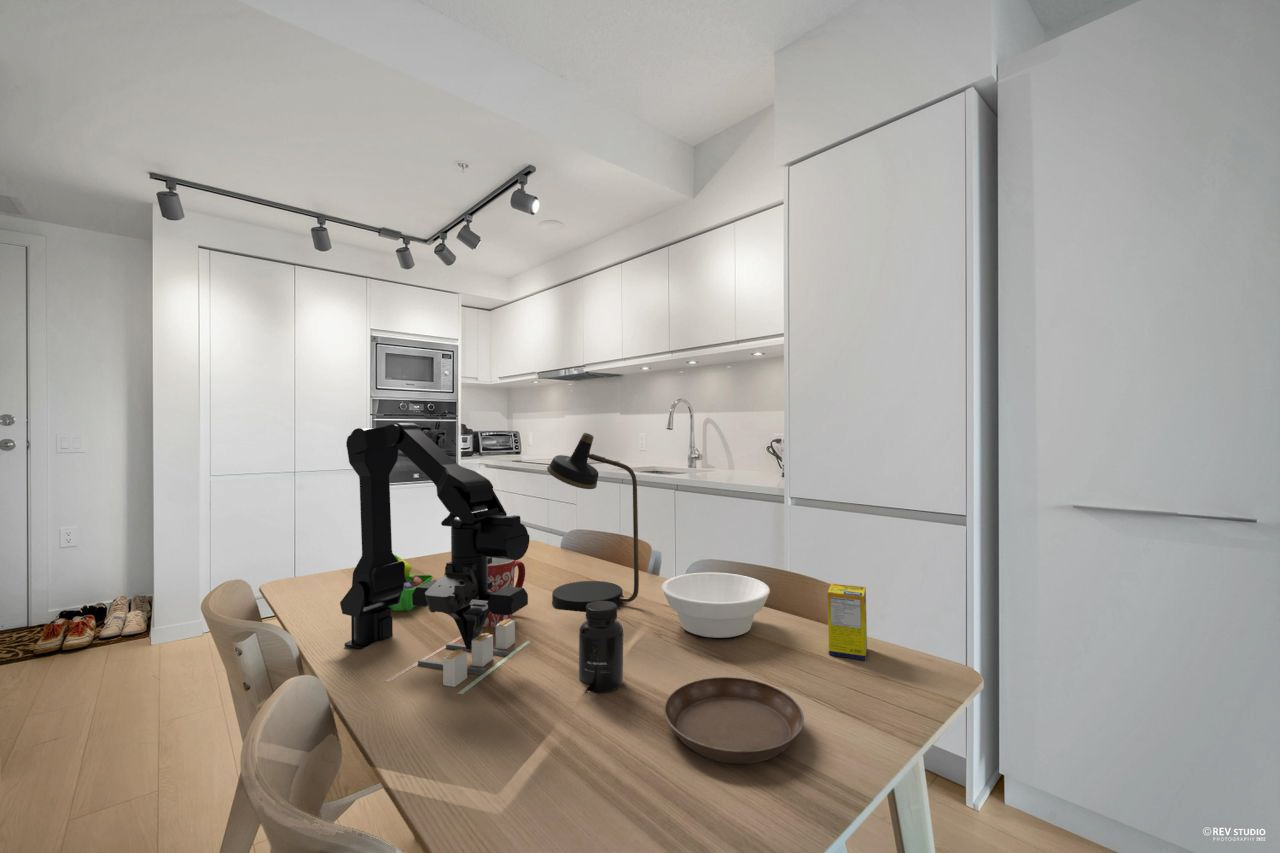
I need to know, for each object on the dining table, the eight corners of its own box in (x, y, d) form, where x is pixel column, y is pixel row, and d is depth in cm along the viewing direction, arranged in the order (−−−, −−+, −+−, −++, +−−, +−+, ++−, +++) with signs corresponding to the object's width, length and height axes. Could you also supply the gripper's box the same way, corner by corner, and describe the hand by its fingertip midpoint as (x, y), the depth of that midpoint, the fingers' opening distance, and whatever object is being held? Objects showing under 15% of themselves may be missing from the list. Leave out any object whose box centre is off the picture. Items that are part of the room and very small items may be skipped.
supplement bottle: (588, 698, 77) (588, 615, 77) (572, 679, 83) (571, 602, 83) (631, 687, 80) (630, 608, 81) (612, 669, 87) (611, 595, 87)
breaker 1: (443, 685, 79) (443, 656, 79) (455, 676, 82) (455, 648, 82) (454, 686, 79) (454, 658, 79) (467, 677, 82) (466, 650, 82)
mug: (489, 638, 100) (488, 567, 100) (460, 628, 105) (459, 560, 106) (539, 619, 110) (538, 554, 110) (510, 611, 116) (510, 548, 116)
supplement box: (867, 648, 94) (866, 586, 94) (866, 661, 89) (865, 595, 89) (831, 642, 97) (830, 582, 97) (828, 655, 91) (827, 591, 91)
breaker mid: (471, 665, 86) (471, 639, 86) (482, 657, 89) (482, 632, 89) (482, 666, 85) (482, 640, 85) (493, 659, 88) (492, 633, 88)
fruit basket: (413, 612, 115) (412, 560, 115) (372, 613, 115) (372, 560, 115) (434, 596, 127) (434, 548, 127) (397, 596, 127) (397, 549, 127)
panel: (379, 692, 80) (378, 680, 80) (468, 637, 101) (468, 627, 101) (458, 705, 76) (458, 693, 76) (534, 645, 97) (534, 635, 97)
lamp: (568, 587, 132) (567, 432, 133) (651, 596, 125) (649, 432, 125) (533, 607, 117) (532, 433, 118) (624, 619, 110) (623, 432, 110)
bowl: (646, 640, 99) (645, 596, 99) (680, 605, 118) (680, 568, 119) (760, 657, 91) (760, 609, 91) (777, 617, 111) (777, 577, 111)
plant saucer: (707, 793, 57) (707, 764, 57) (642, 713, 74) (642, 691, 74) (835, 752, 64) (835, 727, 64) (750, 688, 81) (750, 667, 81)
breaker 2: (495, 648, 93) (495, 624, 93) (505, 641, 96) (504, 618, 96) (505, 649, 92) (505, 625, 92) (514, 642, 95) (514, 619, 95)
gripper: (387, 561, 83) (387, 662, 83) (491, 570, 77) (491, 677, 77) (434, 546, 94) (435, 636, 94) (529, 553, 88) (530, 647, 88)
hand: (470, 648), depth 88 cm, fingers closed
